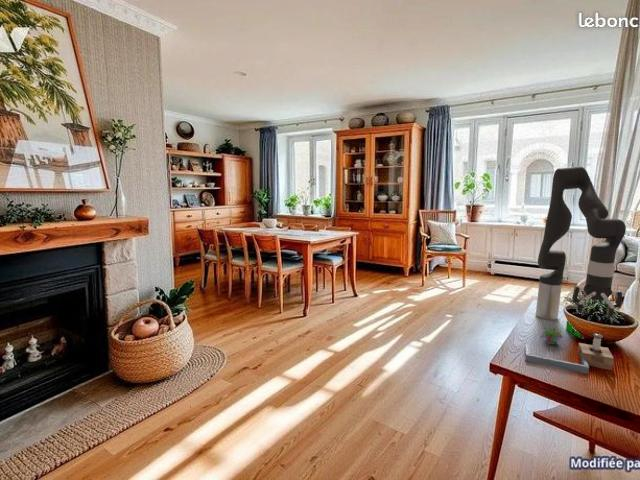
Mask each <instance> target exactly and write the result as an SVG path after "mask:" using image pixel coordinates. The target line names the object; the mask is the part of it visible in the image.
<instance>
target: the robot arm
mask: <svg viewBox="0 0 640 480" xmlns="http://www.w3.org/2000/svg"><path fill="white" fill-rule="evenodd" d="M574 189H575V190H576V189H579V190H580V191H581V194H580V196H579V199H578V201H577V202H578V208H579V211H580V212H581V214H582V215H583V216H584V218H585V221H586V229H587V233H588V234H589V236H591V237H592V238H594V239H605V240H604V241H603V242H602V243H598V244H594V245H592V247H590V248H591V249H590V255H589V262H588V265H587V270H586V278H585V285H584V286H579V285H577V284H576V285H574V288H573V293H572V297H571V300H572V301H573V303H576V304H577V306H576V309H577V311H578V312H579V314H582V309H584V307H583V306H584V303H586V302H588V301H589V300H592V301H600V302H602V301H605V303H606V304H607V305H608V306H607V311H606V317H607V319H611V317H612V318H613V317H614V311H615V309H620V308H622V299H623V293H622V291H621V290H620V289H617V290H613V289H612V286H613V279H614V274H615V259H616V252H617V250H618V249H619V246H620V244H621V242H622V241H623V239H624V237H625V235H626V232H627V227H626V224H625V222H624V221H623V220H622V219H620V218H608V217H609V210H608V209H607V207H606V206H605V205H604V203H603V202H602V200H600V198H599V196H598V193H597V192H596V190H595V187H594V185H593V182H592V180H591V177H590V175H589V173H588V171H587V170H586V168H584V167H583V166H581V165H580V166H578V165H577V166H568V167H566V166H565V167H558V168H556V170H554V173H553V178H552V185H551V193H550V202H549V208H548V211H547V212H548V213H547V216H546V221H545V226H544V232H543V233H544V234H543V239H542V242H541V246H540V249H539V252H538V257H537V265H538V267H539V268H541V269H545V270H553V271H551V272H550V273H545V274H541V275H540V277H539V281H538V290H537V291H538V292H537V297H536V310H535V316H536V317H538V318H541V319H543V320H548V321H549V320H550V321H555V320H558V319H559V318H558V317H559V311H560V302H561V293H562V284H563V278H564V271H565V268H566V267H565V266H566V262H567V256H566V255H567V254H566V253H565V251H564V250H557V249H556V250H555V249H551V248H552V247H553V246H554V244H555V243H556V242H558V241H559V240H560V239H561V238H563V237H564V236H565V235H566V234H567V233H568V232H569V230H570V228H571V227H570V226H571V222H572V219H573V214H572V212H571V210H570V208H569V207H568V205H567V203H566V202H565V200H564V192H565V190H574ZM582 291H584V294H583V295H582V296H581V297H580V298H579V293H581V292H582ZM611 295H613V296H614V297H615V299H614V300H615V303H612V301H611V300H610V299H609V297H610V296H611Z"/></svg>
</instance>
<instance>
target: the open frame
mask: <svg viewBox="0 0 640 480" xmlns="http://www.w3.org/2000/svg"><path fill="white" fill-rule="evenodd" d="M529 348H530V347H529V343H524V359H525V360H524V361H525V362H529V363H533V364H539V365H543V366H548V367H553V368H558V369H561V370H568V371H572V372H578V373H581V374H586V375H588V374H589V369H590V366H588V364H587V361H586V359H585V358H582V359H581V354H580V359H579V362H580V364H579V363H576V362H569V361H566V360H560V359H554V358H550V357H544V356H539V355H534V354H530V350H529ZM581 361H582V362H581Z"/></svg>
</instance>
